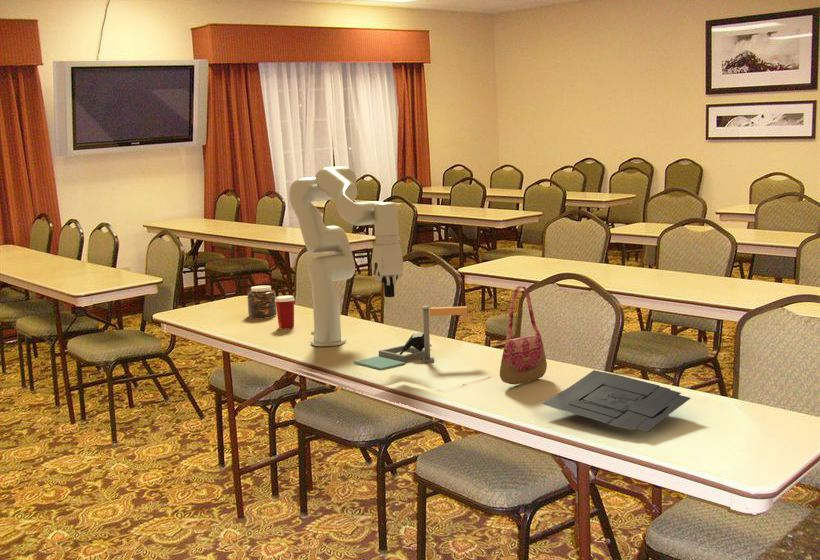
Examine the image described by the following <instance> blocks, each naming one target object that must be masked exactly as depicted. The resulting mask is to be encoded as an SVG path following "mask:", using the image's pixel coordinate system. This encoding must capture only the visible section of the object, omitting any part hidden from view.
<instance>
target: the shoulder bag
mask: <svg viewBox="0 0 820 560" xmlns="http://www.w3.org/2000/svg"><path fill="white" fill-rule="evenodd" d="M521 288H522V289H523V291H524V294H525V298H526V303H527V307H528V308H527V309H528V313H529V318H530V323H531V327H532V328H533V330H534V331H535V334H528V335H524V336H520V337H515V338H512V332H513V323H514V312H515V305H516V300H517V296H518V293H519V291H520V290H521ZM533 310H534V309H533V305H532V300H531V296H530V292H529V290H528V288H527V287H526V286H521V285H518V286H517V287H516V288H515V290H514V292H513V295H512V297H511V300H510V306H509V316H508V326H507V327H508V328H507V333H506V339H505V343H504V348H503V351H502V356H501V362H500V368H499V377H500V378H499V379H501V381H502V382H503V383H505V384H509V385H521V384H524V383H529V382H532V381H536V380H539V379H540V378H543V376H544V375H545V373H546V371H547V367H548V363H547V357H546V353H545V349H544V343H543V340H542V335H541V332H540V331H539V329H538V326H537V325H536V320H535V315H534V312H533Z"/></svg>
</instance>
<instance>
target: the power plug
mask: <svg viewBox="0 0 820 560" xmlns="http://www.w3.org/2000/svg"><path fill="white" fill-rule="evenodd" d="M410 347H414V348H415V349H417V350H419V351H421V350H423V349H424V332H419V333H413V334H412V335H410V337H409V339H408V340H407V341H406V342H405V344H404V347H403V349H402V351H400V353H399V354H400V355H403V354H404V353H406V352H408V351H407V350H408V349H409V348H410ZM431 347H432V344H431V343H430V352H431V351H432V349H431ZM432 348H433V347H432Z"/></svg>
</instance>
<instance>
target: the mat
mask: <svg viewBox="0 0 820 560" xmlns="http://www.w3.org/2000/svg"><path fill="white" fill-rule="evenodd" d="M353 363H354V364H356V365H359V366H364V367H366V368H371V369H374V370H379V371H383V370H387V369H388V370H389V369H392V368H395V367H400V366H403V365H406V362H401V361H396V360H392V359H389V358H385V357H381V356H379V355H377V356H373V357H369V358H364V359H359V360H355V361H353Z"/></svg>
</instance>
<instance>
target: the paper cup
mask: <svg viewBox="0 0 820 560" xmlns="http://www.w3.org/2000/svg"><path fill="white" fill-rule="evenodd" d="M275 301H276V308H277V315H276V316H277V323H278V329H280V328H283V329H282V330H286V329H285V328H290V329H293V328H294V327H295V297H294V295H279V296H276V300H275ZM292 327H293V328H292Z"/></svg>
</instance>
